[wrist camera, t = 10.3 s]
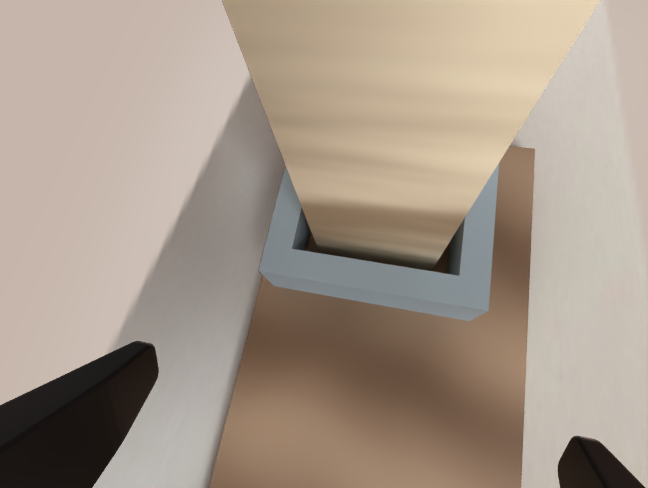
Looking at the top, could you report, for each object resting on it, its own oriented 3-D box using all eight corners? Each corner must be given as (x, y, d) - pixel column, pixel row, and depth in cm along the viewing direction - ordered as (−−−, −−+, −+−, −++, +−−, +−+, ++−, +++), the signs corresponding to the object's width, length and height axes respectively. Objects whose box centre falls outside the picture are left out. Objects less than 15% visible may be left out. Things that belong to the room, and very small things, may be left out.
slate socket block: (469, 320, 15) (488, 310, 12) (274, 286, 16) (258, 271, 14) (484, 145, 17) (502, 108, 15) (312, 126, 18) (304, 90, 16)
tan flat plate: (493, 821, 11) (505, 863, 10) (165, 698, 13) (149, 724, 12) (525, 161, 18) (534, 149, 17) (304, 136, 19) (300, 123, 18)
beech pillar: (429, 273, 16) (599, 0, 4) (320, 255, 16) (214, -18, 5) (441, 174, 17) (594, -236, 6) (340, 162, 18) (291, -223, 6)
